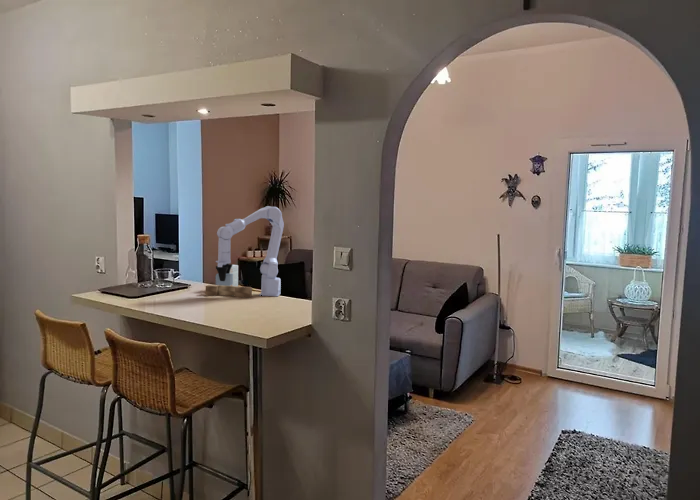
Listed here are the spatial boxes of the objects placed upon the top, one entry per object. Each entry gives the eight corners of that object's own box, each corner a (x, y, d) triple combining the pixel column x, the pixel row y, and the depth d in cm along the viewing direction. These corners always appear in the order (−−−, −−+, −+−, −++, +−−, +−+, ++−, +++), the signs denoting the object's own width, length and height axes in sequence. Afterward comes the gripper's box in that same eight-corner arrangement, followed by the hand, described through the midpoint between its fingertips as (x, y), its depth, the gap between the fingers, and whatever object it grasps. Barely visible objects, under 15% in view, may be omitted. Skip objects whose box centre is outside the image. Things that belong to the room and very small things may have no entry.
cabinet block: (232, 283, 259) (233, 273, 259) (230, 285, 255) (230, 275, 254) (217, 283, 260) (217, 272, 259) (214, 284, 255) (214, 274, 255)
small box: (227, 288, 281) (228, 264, 280) (238, 289, 279) (238, 265, 278) (218, 291, 274) (219, 265, 272) (229, 292, 272) (230, 266, 270)
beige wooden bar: (251, 296, 264) (252, 287, 263) (250, 297, 260) (250, 288, 260) (207, 293, 265) (208, 284, 265) (205, 295, 262) (205, 286, 261)
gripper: (220, 250, 263) (220, 277, 264) (211, 253, 249) (210, 282, 250) (234, 250, 263) (234, 278, 264) (226, 253, 248) (225, 283, 250)
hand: (224, 280), depth 257 cm, fingers closed on cabinet block, 4 cm apart
